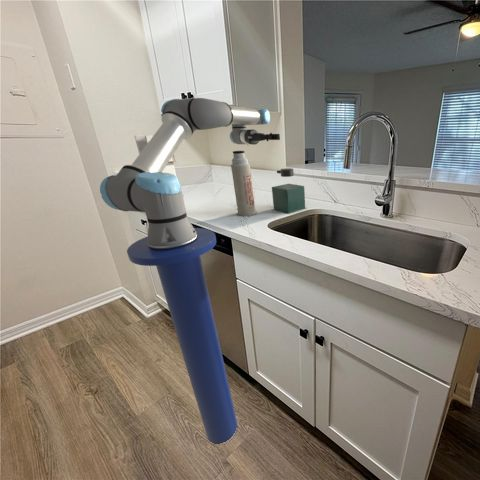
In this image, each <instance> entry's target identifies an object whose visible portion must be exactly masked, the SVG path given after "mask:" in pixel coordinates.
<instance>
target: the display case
mask: <svg viewBox="0 0 480 480" xmlns="http://www.w3.org/2000/svg"><path fill="white" fill-rule="evenodd" d="M153 136H154V134H150V135H149V134H146V135H144V134H143V135H134V140H135V143H136V147H137V152H138V155H139V154H140V153H141V152H142V150H143V149H144V148H145V146H146V145H147V144H148V142H149V141H150V140H151V138H152V137H153ZM162 172H165V173H170V174H173V175H175V176H176V177H177V172H176V168H175V163H174V159H173V157H172V158H171V159H170V161H169V162H168V164H167V165H166V167H165V168H164V170H163V171H162ZM177 178H178V177H177Z"/></svg>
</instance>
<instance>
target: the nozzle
mask: <svg viewBox="0 0 480 480" xmlns="http://www.w3.org/2000/svg"><path fill="white" fill-rule="evenodd" d="M276 173H277V174H280V177H282V178H283V177H284V178H288V177H289V178H290V177H294V175H295V174H294V173H295V172H294V168H290V167H288V168H281V169H278V170H276Z"/></svg>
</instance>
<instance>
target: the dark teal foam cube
mask: <svg viewBox="0 0 480 480" xmlns="http://www.w3.org/2000/svg"><path fill="white" fill-rule="evenodd" d="M305 191H306V190H305V185H300V184H294V183H285V184H280V185H275V186H271V194H272V205H273V210H275V211H279V212H282V213H286V214H291V213H294V212H297V211H301V210H304V209H306V196H305V193H306V192H305Z"/></svg>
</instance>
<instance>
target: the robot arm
mask: <svg viewBox="0 0 480 480" xmlns="http://www.w3.org/2000/svg"><path fill="white" fill-rule="evenodd" d="M238 106H239V105H230V104H229V103H228V102H225V101H219V100H215V99H209V98H204V97H196V98H194V97H193V98H182V99H180V98H173V99H169V100H167V101H165V102H164V103H163V104H162V106H161V109H160V112H161V114H160V117H161V119H160V120H161V123H162V124H161V125H160V127H158V129H157V131H155V133H154V134H153V135H154V136H153V137H152V138H151V140H150V141H149V142H148V144H147V145H146V146H145V148H144V149H143V150H142V152H141V153H140V154H139V153H138V155H137V157H136V158H135V159H134V161H133V162H132V163H131V164H125V165H123V166H122V167H121V168H120V170H119V171H118V172H117V174H111V175H109V176H106V177H105V178H103V179H102V181H101V182H100V185H99V193H100V195H101V199H102V200H103V202H104V203H105V204H106V205H107V206H108V207H110V208H112V209H113V210H117V211H122V212H138V213H145V216H146V220H147V224H148V227H147V236H148V238H147V243H148V246H149V248H150V249H153V250H171V249H177V248H181V247H184V246H187V245H189V244H191V243H193V242H195V241H196V240H197V238H198V237H197V233H196V231H195V229H194V228H195V227H194V226H193V224H192V222H191V221H190V220H189V217H188V215H187V210H186V205H185V200H184V196H183V191H182V190H183V189H182V186H181V184H180V181H179V178H178V177H176V176H177V175H176V176H175V175H173V174H170V173H165V172H162V171H163V170H164V168H165V167H166V165H167V164H168V162H169V161H170V159H171V158H172V159H173V156H174V155H175V154H176V151H177V150H178V149H179V148H180V145H181V144H182V143H183V141H184V140H187V139H188V140H189V139H190V138H191V137H192V135H193V134H194V133H195V132H196V131H200V130H201V131H204V130H212V129H217V128H222V127H223V128H224V127H226V128H227V127H229V126H231V132H230V133H229V139H230V141H231V143H232V144H236V145H246V146H250V145H253V146H255V145H258V144H259V143H260V142H262V141H266V142H269V141H281V135H280V133H273V132H269V134H268V133H266V134H265V133H261V132H258V131H257V130H256V129H253V128H252V129H247V126H249V125H250V126H251V125H252V126H253V125H255V126H256V125H259V126H260V125H261V126H263V125H268V124H270V121H271V114H270V111H269V110H268V109H267V108H260V109H261V110H257V109H258V108H253V109H252V107H244V106H243V107H238Z"/></svg>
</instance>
